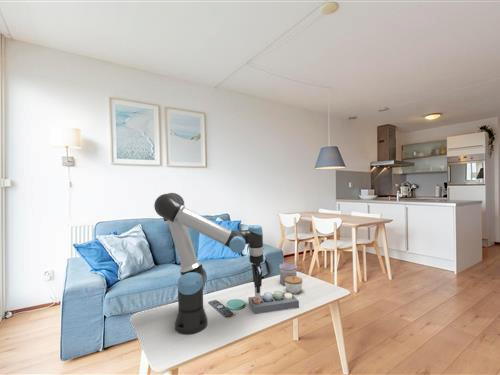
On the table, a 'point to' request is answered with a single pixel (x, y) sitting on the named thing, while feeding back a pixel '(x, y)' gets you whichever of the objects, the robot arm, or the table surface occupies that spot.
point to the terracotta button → (256, 300)
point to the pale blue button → (267, 297)
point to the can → (287, 271)
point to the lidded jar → (293, 284)
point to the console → (273, 304)
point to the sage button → (278, 295)
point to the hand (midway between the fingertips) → (257, 297)
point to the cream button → (288, 296)
